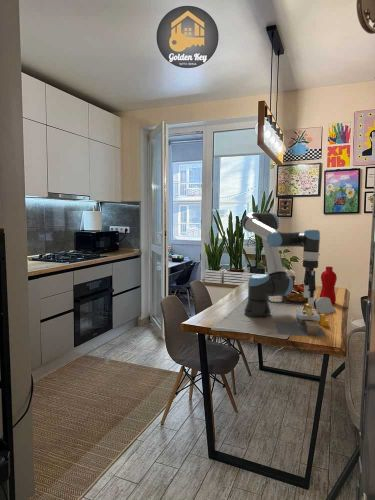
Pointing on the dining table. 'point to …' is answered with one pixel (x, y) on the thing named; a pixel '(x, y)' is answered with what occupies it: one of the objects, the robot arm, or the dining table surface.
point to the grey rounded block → (323, 305)
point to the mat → (293, 329)
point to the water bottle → (328, 284)
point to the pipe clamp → (322, 319)
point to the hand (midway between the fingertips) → (308, 300)
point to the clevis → (308, 322)
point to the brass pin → (309, 309)
